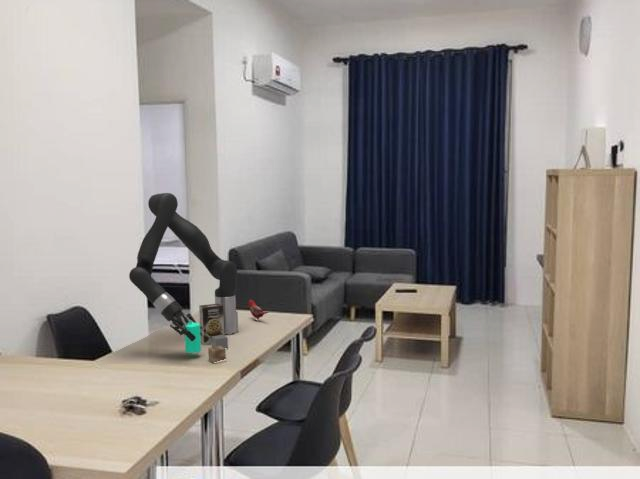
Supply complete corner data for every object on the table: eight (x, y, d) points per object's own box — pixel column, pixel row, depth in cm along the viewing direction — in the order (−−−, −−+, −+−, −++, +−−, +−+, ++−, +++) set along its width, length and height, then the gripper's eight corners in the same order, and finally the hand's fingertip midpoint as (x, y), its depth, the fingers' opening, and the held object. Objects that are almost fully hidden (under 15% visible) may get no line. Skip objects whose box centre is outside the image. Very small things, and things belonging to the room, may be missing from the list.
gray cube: (223, 346, 239) (222, 334, 239) (227, 349, 235) (227, 337, 235) (211, 348, 237) (211, 336, 236) (216, 351, 233) (215, 339, 232)
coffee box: (204, 345, 241) (202, 307, 239) (199, 341, 247) (198, 305, 245) (224, 342, 245) (223, 305, 244) (220, 338, 251) (219, 302, 249)
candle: (186, 348, 228) (185, 319, 226) (202, 348, 228) (200, 318, 227) (184, 353, 222) (183, 323, 220) (200, 352, 222) (198, 322, 221)
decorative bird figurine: (251, 318, 288) (250, 298, 287) (271, 324, 274) (270, 303, 273) (246, 318, 286) (245, 299, 285) (266, 325, 273) (265, 304, 272)
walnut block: (221, 358, 223) (220, 345, 223) (225, 361, 219) (225, 348, 218) (208, 360, 221) (208, 348, 220) (213, 364, 216) (212, 351, 216)
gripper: (164, 304, 218) (195, 336, 216) (182, 296, 231) (210, 326, 230) (152, 317, 219) (182, 349, 218) (170, 308, 233) (199, 338, 232)
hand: (197, 337), depth 224 cm, fingers closed on candle, 4 cm apart
